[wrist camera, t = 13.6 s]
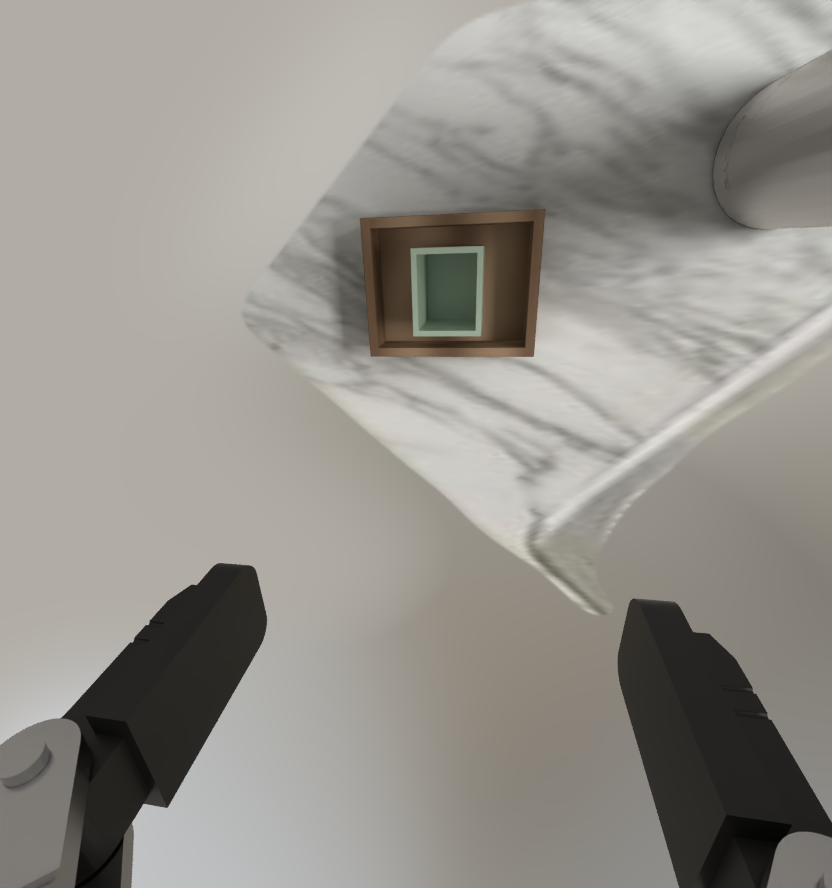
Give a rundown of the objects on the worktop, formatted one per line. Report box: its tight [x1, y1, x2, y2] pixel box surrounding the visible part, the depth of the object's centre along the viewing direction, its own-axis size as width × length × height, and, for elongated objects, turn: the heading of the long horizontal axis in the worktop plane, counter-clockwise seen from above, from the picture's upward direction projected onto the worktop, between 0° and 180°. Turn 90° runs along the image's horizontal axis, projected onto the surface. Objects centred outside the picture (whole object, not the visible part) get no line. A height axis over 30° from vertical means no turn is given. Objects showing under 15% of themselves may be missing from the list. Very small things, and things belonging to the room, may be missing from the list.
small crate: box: [410, 246, 485, 336], centre depth 34 cm, size 5×6×6 cm
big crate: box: [360, 209, 545, 357], centre depth 35 cm, size 13×10×4 cm
